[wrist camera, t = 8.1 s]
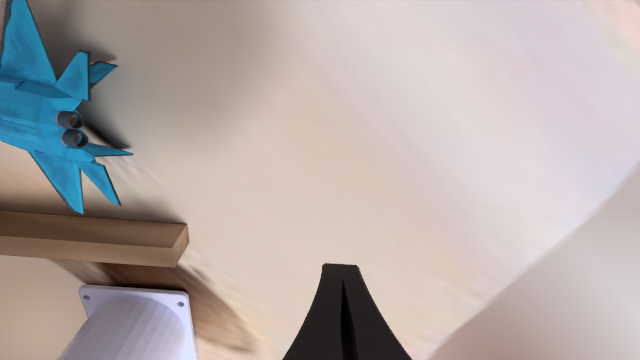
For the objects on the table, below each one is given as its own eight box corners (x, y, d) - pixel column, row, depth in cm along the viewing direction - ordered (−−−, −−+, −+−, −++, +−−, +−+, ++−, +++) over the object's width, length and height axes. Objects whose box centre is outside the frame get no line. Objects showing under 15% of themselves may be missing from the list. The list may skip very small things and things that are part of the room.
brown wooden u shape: (189, 242, 23) (174, 267, 21) (-24, 226, 23) (-62, 250, 20) (143, -113, 14) (109, -135, 12) (-207, -146, 14) (-309, -176, 12)
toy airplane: (88, -28, 16) (12, -41, 12) (211, 142, 19) (182, 173, 16) (-58, 88, 19) (-157, 107, 15) (73, 218, 22) (21, 259, 18)
